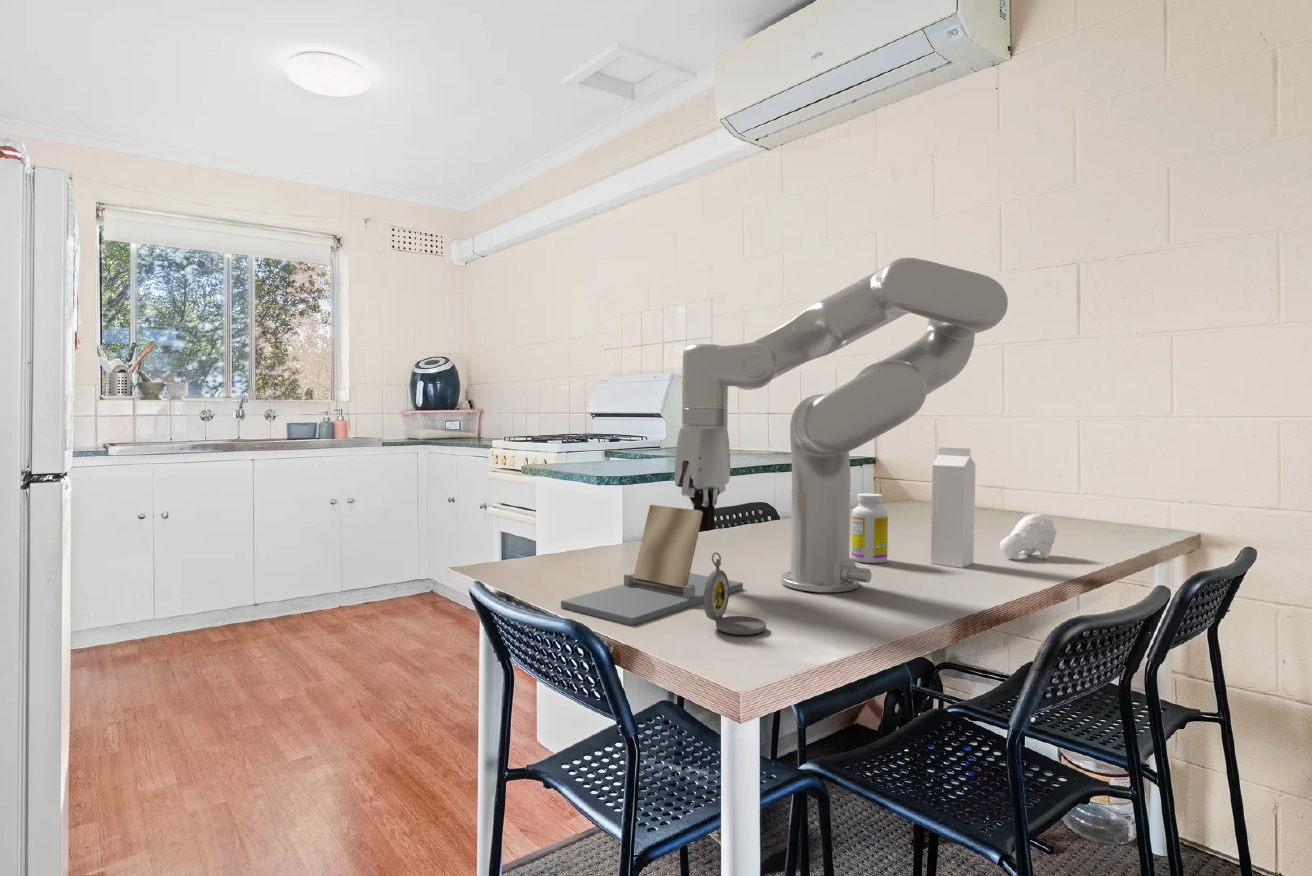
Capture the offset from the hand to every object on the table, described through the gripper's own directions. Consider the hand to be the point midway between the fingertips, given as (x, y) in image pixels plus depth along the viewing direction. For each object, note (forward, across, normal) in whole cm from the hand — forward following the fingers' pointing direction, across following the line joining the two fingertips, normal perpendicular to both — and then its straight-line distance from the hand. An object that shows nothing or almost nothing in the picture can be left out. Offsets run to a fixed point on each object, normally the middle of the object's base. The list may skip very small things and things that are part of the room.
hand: (703, 529), depth 125 cm
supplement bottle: (+9, -36, +13) cm, 40 cm away
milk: (+9, -44, +26) cm, 52 cm away
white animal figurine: (+9, -59, +35) cm, 69 cm away
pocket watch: (+9, +18, +18) cm, 27 cm away
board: (+9, +12, 0) cm, 15 cm away
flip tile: (+2, +9, 0) cm, 10 cm away
